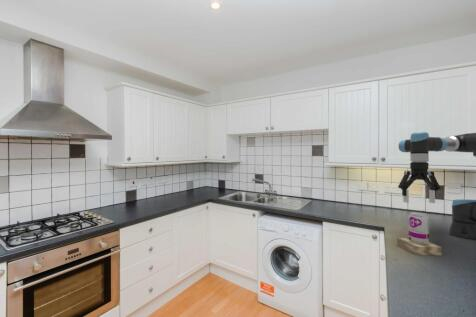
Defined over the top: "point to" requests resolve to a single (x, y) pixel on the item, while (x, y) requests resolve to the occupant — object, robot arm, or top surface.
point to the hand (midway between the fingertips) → (418, 202)
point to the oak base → (419, 247)
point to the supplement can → (419, 228)
